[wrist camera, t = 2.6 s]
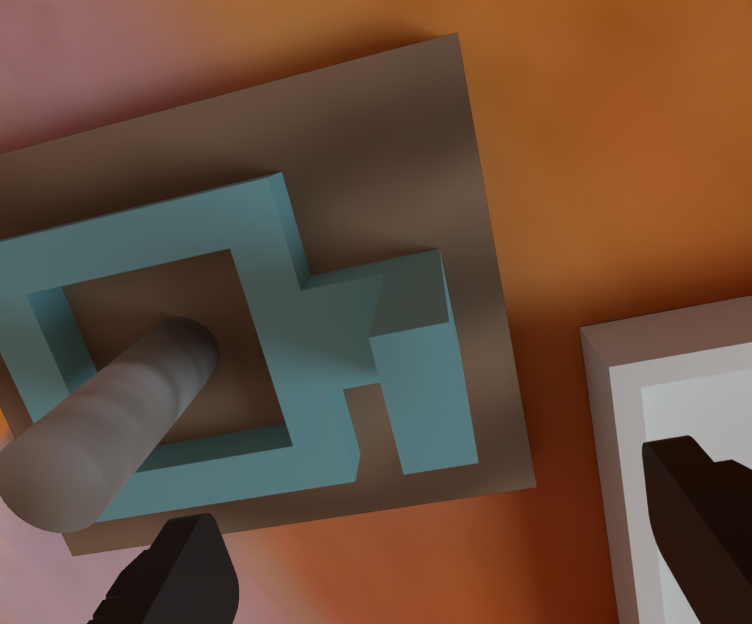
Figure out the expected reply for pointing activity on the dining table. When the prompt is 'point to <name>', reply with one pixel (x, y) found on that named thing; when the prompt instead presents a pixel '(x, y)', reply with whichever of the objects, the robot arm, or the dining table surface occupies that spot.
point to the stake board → (228, 302)
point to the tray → (663, 427)
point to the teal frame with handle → (277, 338)
